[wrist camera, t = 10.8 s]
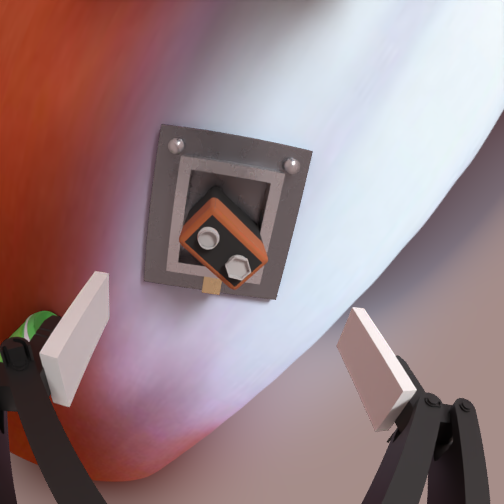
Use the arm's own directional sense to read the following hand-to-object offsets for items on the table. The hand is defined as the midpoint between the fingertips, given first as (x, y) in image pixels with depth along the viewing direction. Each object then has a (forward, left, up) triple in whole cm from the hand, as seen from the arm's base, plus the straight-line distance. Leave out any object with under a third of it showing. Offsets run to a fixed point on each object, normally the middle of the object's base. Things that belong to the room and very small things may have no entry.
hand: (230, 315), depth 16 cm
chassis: (+1, 0, -21) cm, 21 cm away
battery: (+1, 0, -20) cm, 20 cm away
